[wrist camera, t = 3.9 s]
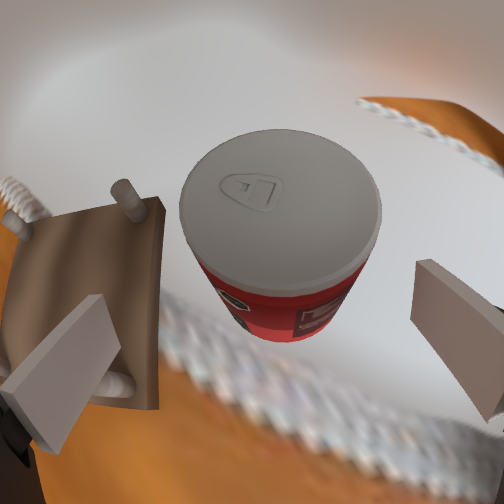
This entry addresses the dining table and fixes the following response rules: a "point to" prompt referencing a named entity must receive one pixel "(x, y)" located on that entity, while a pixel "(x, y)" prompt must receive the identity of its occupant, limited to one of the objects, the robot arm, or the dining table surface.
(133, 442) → the dining table surface
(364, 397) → the dining table surface
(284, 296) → the canned food
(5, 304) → the peg board
